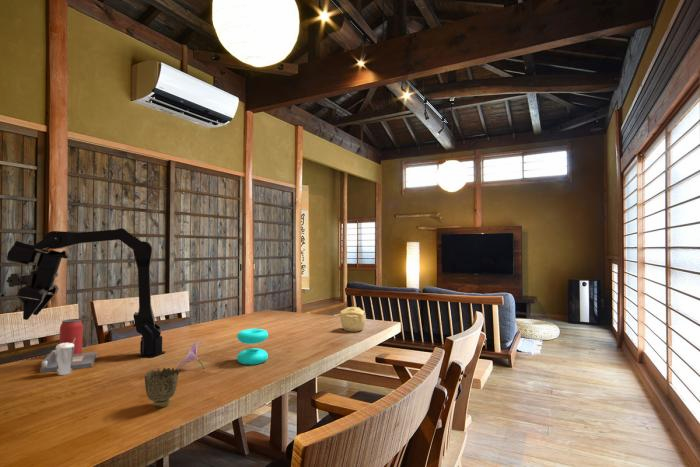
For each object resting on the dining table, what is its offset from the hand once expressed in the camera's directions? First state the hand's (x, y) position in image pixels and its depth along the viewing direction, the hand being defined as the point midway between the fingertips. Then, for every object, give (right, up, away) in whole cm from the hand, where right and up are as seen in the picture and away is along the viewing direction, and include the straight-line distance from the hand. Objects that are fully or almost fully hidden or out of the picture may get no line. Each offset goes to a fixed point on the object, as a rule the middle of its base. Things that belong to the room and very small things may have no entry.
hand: (30, 317), depth 124 cm
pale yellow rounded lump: (+103, -18, +56) cm, 118 cm away
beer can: (+3, -16, +13) cm, 21 cm away
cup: (+56, -15, -31) cm, 66 cm away
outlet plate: (+11, -16, +3) cm, 19 cm away
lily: (+52, -16, -3) cm, 54 cm away
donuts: (+69, -16, +6) cm, 71 cm away
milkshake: (+16, -15, -7) cm, 24 cm away
